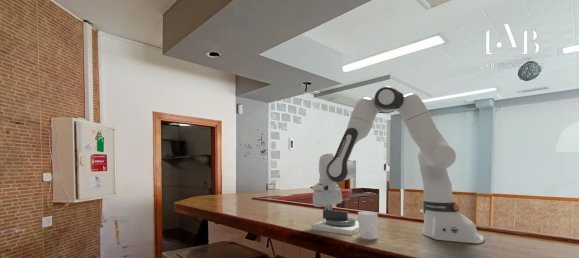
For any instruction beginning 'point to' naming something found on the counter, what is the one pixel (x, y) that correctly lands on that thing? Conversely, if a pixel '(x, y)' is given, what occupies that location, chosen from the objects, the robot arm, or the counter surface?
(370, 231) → the white cup
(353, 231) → the dial panel
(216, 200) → the counter surface
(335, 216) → the dial
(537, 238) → the counter surface
